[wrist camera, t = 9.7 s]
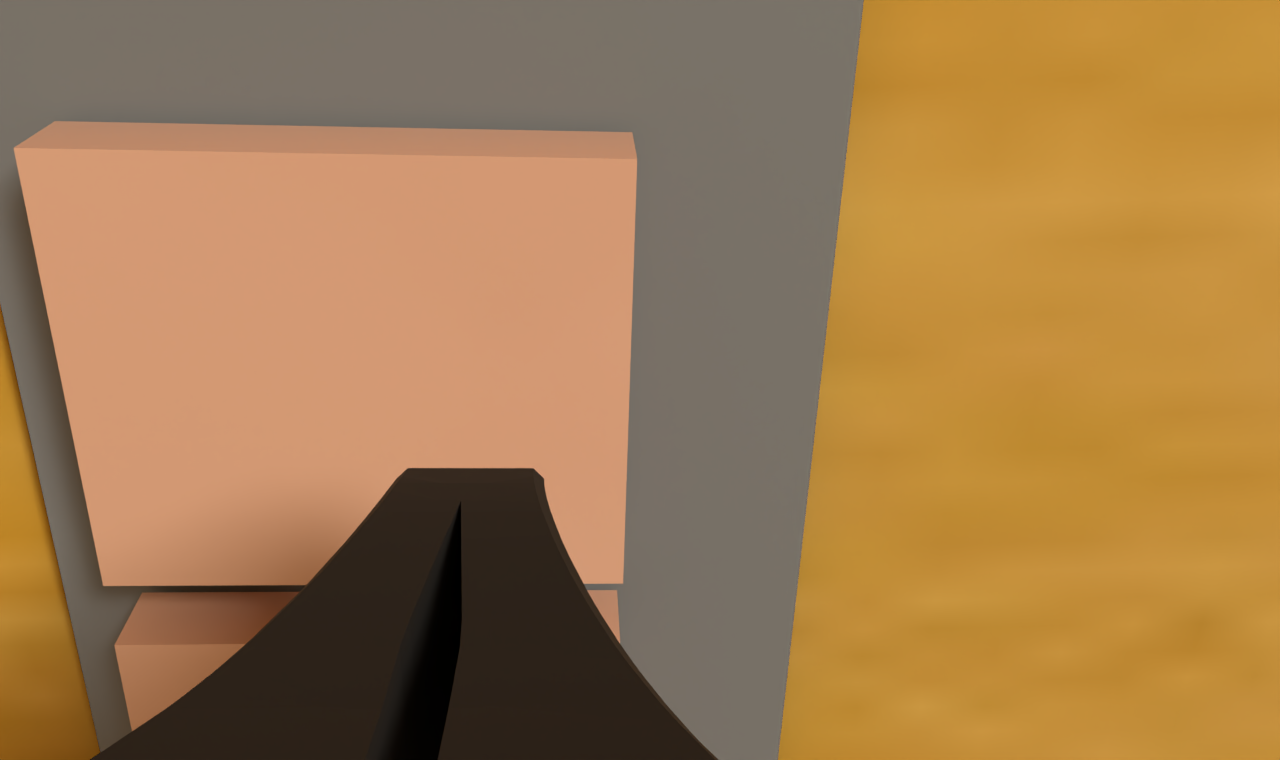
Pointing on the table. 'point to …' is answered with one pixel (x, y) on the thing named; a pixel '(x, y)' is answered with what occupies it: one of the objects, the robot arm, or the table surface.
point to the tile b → (330, 330)
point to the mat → (662, 279)
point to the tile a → (210, 640)
